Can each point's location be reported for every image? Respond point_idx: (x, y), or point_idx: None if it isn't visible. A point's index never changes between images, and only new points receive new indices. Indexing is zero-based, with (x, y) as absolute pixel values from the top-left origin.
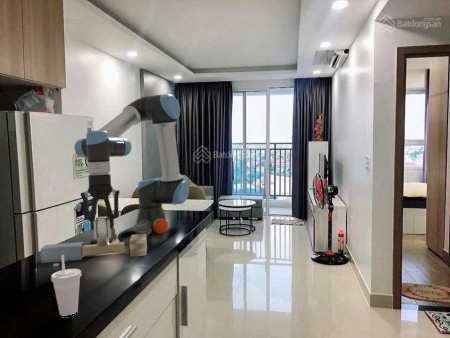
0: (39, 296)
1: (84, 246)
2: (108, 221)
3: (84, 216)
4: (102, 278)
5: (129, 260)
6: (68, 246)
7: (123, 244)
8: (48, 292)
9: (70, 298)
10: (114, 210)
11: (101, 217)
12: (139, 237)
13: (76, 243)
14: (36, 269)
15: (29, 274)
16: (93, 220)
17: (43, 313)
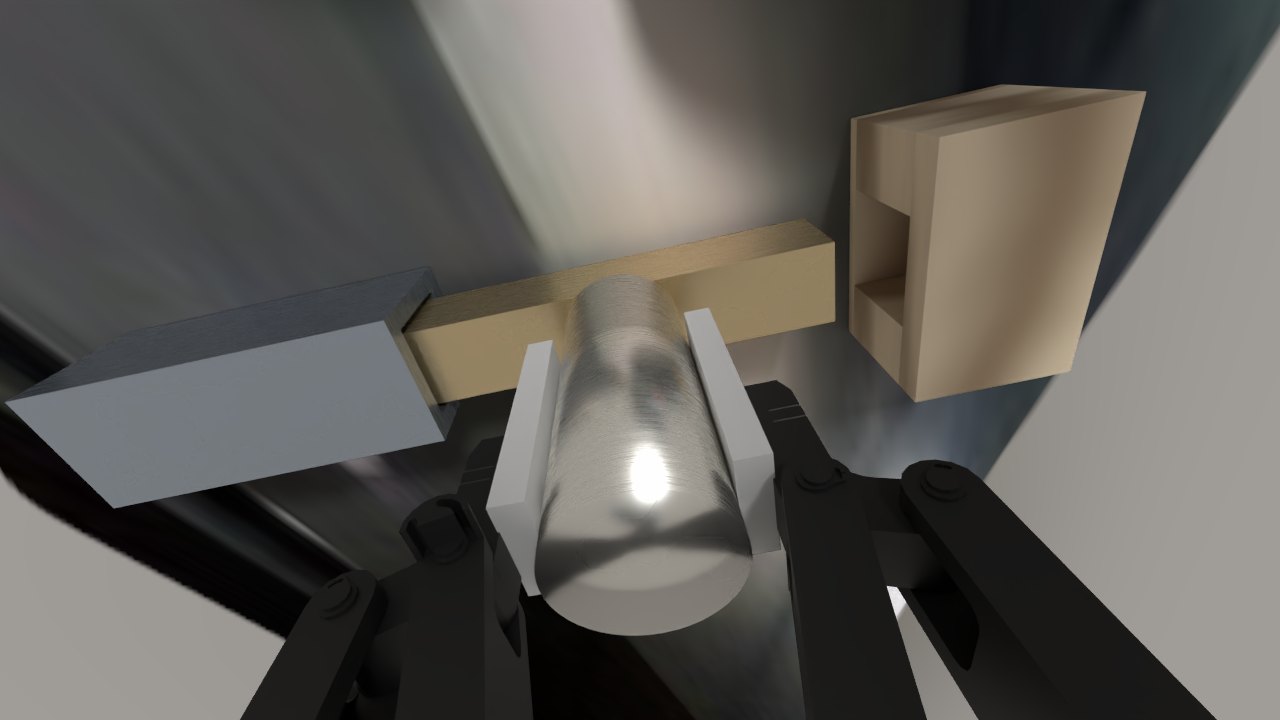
0: (565, 711)
1: (450, 372)
2: (760, 535)
3: (355, 718)
4: (746, 606)
5: (848, 403)
6: (337, 458)
7: (825, 322)
8: (578, 693)
9: None
10: (979, 708)
11: (631, 563)
12: (1025, 284)
13: (342, 373)
14: (289, 520)
15: (321, 574)
16: (513, 588)
17: None
